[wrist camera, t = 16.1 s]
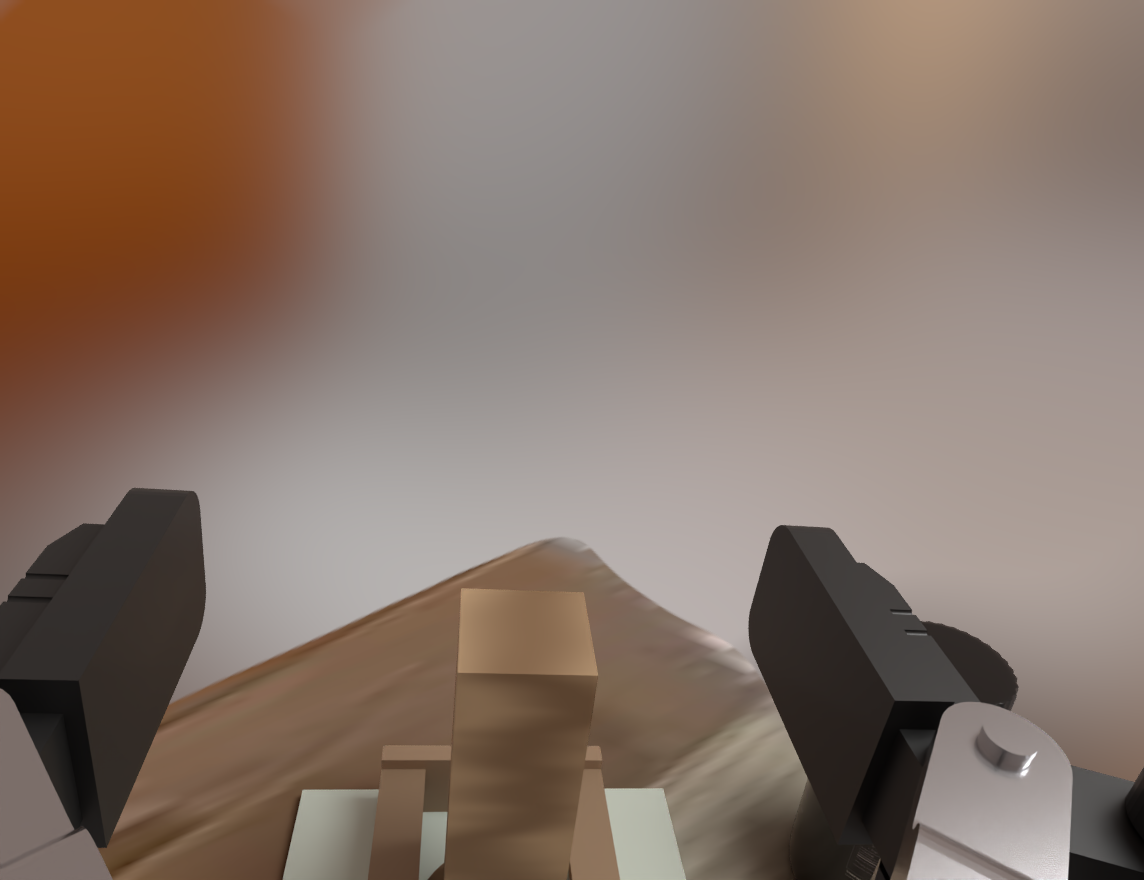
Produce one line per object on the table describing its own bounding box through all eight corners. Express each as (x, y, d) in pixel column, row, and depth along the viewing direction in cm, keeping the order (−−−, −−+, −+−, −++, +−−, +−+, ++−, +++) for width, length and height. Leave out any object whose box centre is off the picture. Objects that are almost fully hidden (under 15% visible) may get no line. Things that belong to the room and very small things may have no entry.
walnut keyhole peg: (406, 1015, 28) (419, 697, 22) (419, 859, 34) (431, 569, 28) (581, 1010, 29) (637, 700, 23) (566, 858, 35) (609, 576, 29)
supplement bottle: (777, 800, 39) (841, 589, 34) (925, 828, 39) (1012, 617, 34) (793, 940, 33) (874, 706, 28) (970, 974, 32) (1086, 743, 27)
